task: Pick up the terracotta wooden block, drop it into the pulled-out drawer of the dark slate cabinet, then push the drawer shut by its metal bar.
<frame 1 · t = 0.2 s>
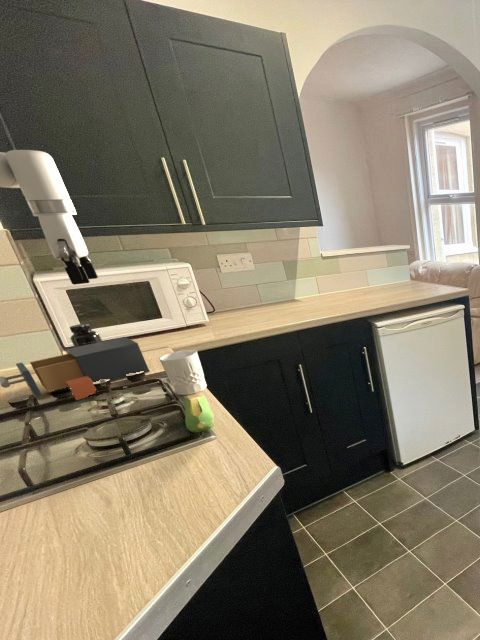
hand: (86, 281, 107), 28 cm above the worktop, tool pointing down, fingers open, 9 cm apart
drawer: (47, 375, 114), point 5 cm above the worktop, slide at 9.0 cm
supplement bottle: (96, 360, 139), on the worktop
block: (85, 395, 112), on the worktop
cabinet: (115, 374, 125), on the worktop
white cup: (192, 390, 112), on the worktop
edible corn: (201, 420, 96), on the worktop
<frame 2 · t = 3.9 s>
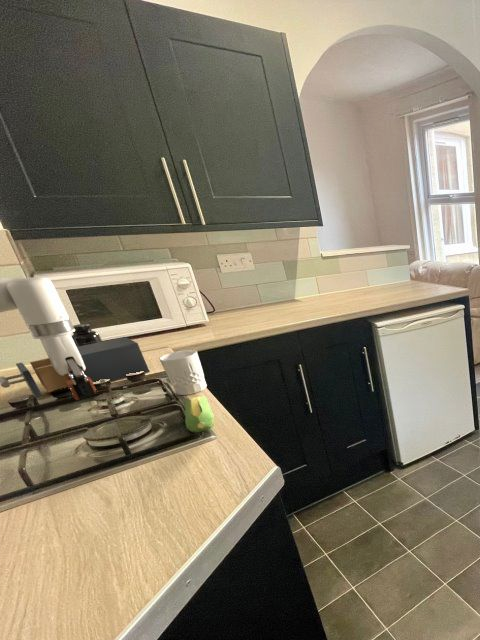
hand: (85, 394, 111), 0 cm above the worktop, tool pointing down, fingers closed on block, 4 cm apart
block: (85, 395, 112), on the worktop, touching gripper
everything else where it was.
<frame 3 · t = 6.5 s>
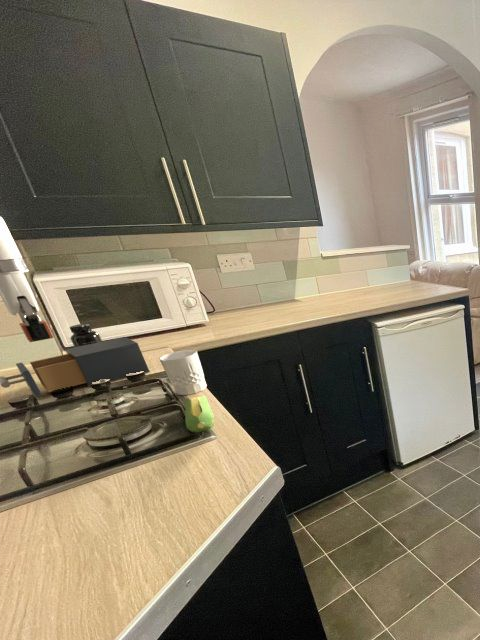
hand: (40, 337, 110), 15 cm above the worktop, tool pointing down, fingers closed on block, 4 cm apart
block: (40, 338, 111), point 15 cm above the worktop, touching gripper
everything else where it was.
when the fingers open (8 cm above the worktop, at t = 9.3 s): block stays where it is, resting on drawer.
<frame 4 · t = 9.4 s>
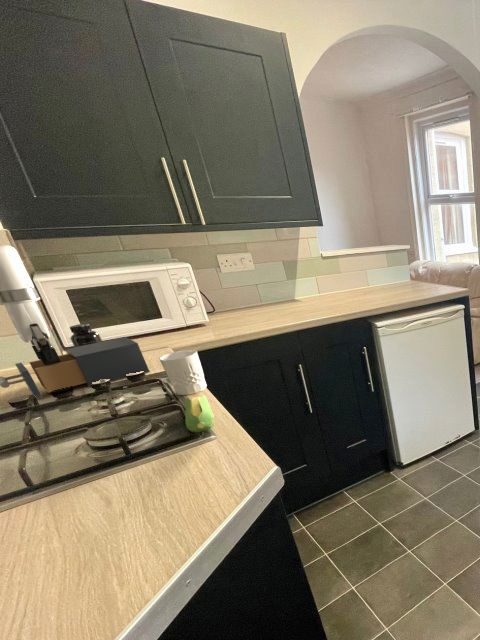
hand: (49, 360, 114), 8 cm above the worktop, tool pointing down, fingers open, 7 cm apart
drawer: (46, 375, 114), point 5 cm above the worktop, slide at 9.1 cm, touching block
block: (60, 381, 116), point 2 cm above the worktop, touching drawer
everything else where it was.
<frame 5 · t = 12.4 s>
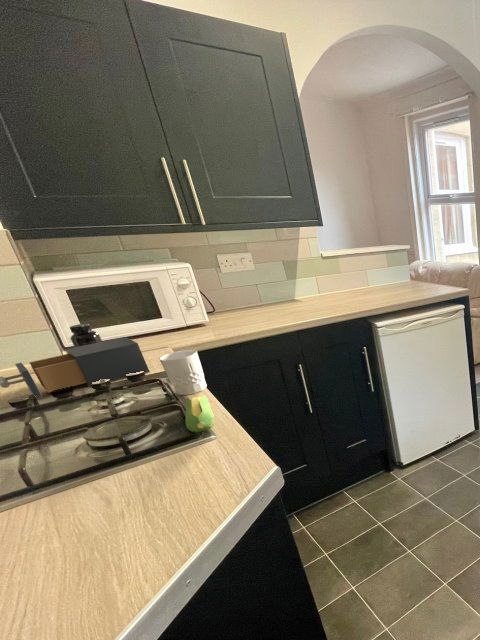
nothing on the worktop moved.
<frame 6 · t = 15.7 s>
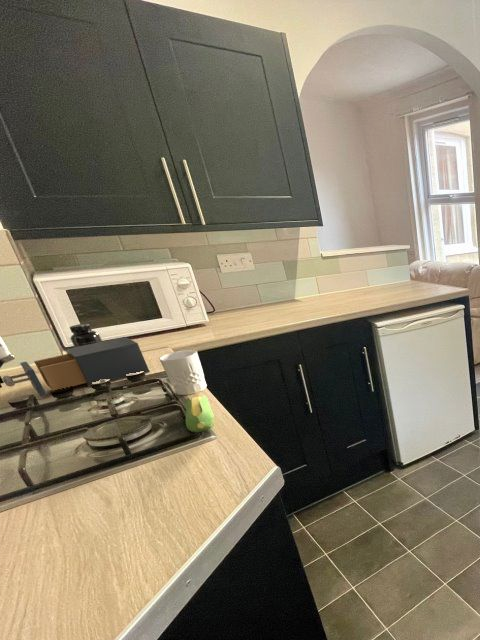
drawer: (51, 374, 114), point 5 cm above the worktop, slide at 8.2 cm, touching block, gripper
everything else where it was.
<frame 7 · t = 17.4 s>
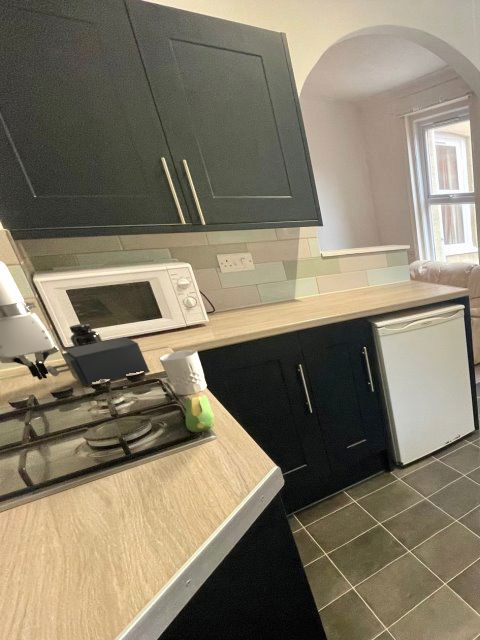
hand: (42, 377, 113), 4 cm above the worktop, tool pointing down, fingers closed
drawer: (91, 364, 120), point 5 cm above the worktop, slide at 0.0 cm, touching block, cabinet, gripper
block: (103, 370, 123), point 2 cm above the worktop, touching drawer
everything else where it was.
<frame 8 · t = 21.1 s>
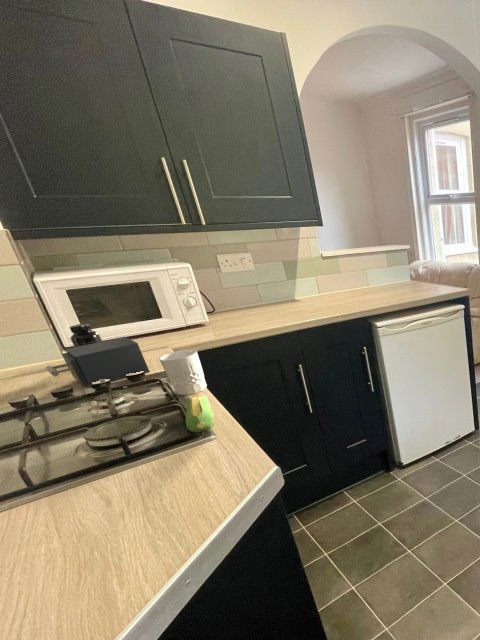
drawer: (91, 364, 120), point 5 cm above the worktop, slide at 0.0 cm, touching block
everything else where it was.
at the end: block inside the target area in the cabinet (1.9 cm from its centre), point 2.0 cm above the cabinet's base; drawer slide at 0.0 cm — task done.
